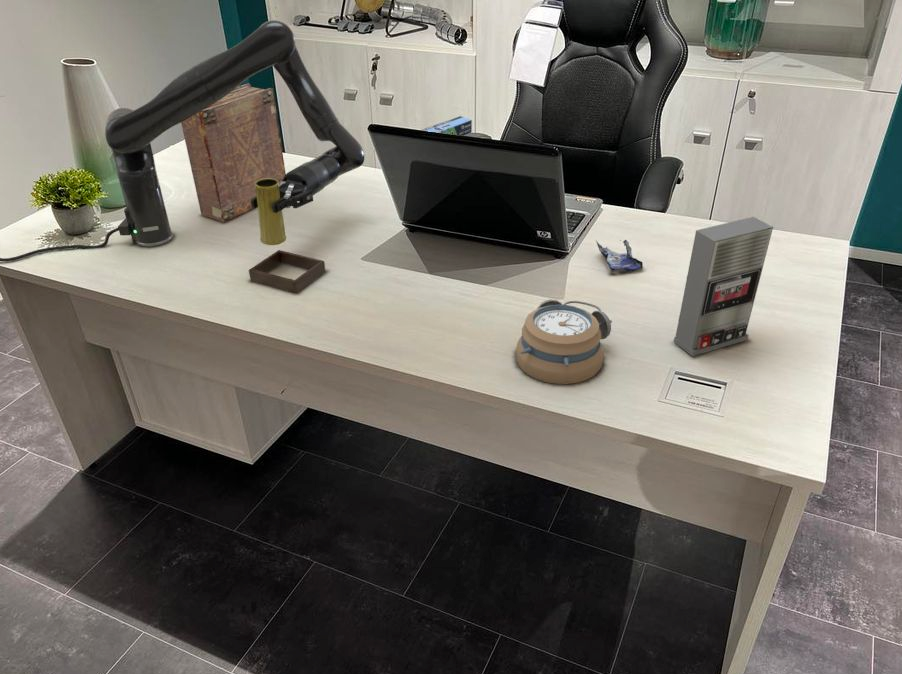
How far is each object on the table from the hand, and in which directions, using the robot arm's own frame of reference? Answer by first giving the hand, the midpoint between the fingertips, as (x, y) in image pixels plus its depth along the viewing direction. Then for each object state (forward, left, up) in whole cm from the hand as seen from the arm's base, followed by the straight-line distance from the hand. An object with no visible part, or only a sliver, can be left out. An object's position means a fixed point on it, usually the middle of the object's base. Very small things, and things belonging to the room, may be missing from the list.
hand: (263, 206), depth 173 cm
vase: (0, +2, -9) cm, 10 cm away
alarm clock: (+67, -32, -18) cm, 76 cm away
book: (-18, +42, -18) cm, 49 cm away
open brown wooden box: (+4, -1, -18) cm, 18 cm away
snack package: (+83, +6, -18) cm, 85 cm away
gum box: (+39, +39, -18) cm, 58 cm away
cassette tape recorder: (+97, -28, -18) cm, 102 cm away
